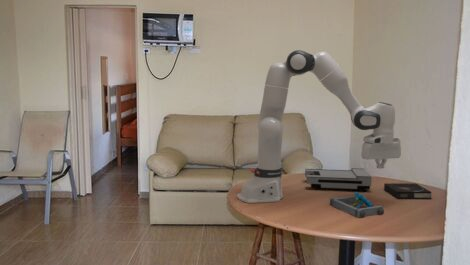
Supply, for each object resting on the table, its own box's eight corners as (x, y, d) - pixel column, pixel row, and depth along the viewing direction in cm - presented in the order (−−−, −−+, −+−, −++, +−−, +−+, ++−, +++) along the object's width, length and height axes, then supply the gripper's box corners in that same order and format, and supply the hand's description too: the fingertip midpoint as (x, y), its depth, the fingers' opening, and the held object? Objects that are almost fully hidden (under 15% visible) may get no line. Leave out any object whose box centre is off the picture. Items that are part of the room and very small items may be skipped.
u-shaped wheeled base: (359, 218, 175) (359, 211, 175) (329, 204, 194) (329, 198, 193) (384, 214, 181) (384, 207, 180) (353, 201, 199) (353, 195, 199)
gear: (378, 208, 183) (363, 192, 182) (369, 218, 183) (354, 202, 181) (366, 204, 194) (351, 189, 193) (358, 214, 193) (343, 199, 192)
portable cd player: (397, 200, 203) (397, 192, 203) (383, 190, 220) (384, 183, 220) (431, 200, 204) (431, 192, 203) (415, 191, 221) (415, 183, 220)
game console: (304, 181, 239) (305, 166, 238) (363, 183, 236) (364, 168, 235) (306, 190, 219) (307, 174, 218) (370, 193, 215) (371, 177, 214)
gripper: (395, 136, 200) (392, 165, 202) (360, 137, 192) (358, 167, 194) (405, 138, 194) (402, 168, 196) (369, 139, 186) (367, 170, 188)
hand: (380, 168), depth 195 cm, fingers closed
